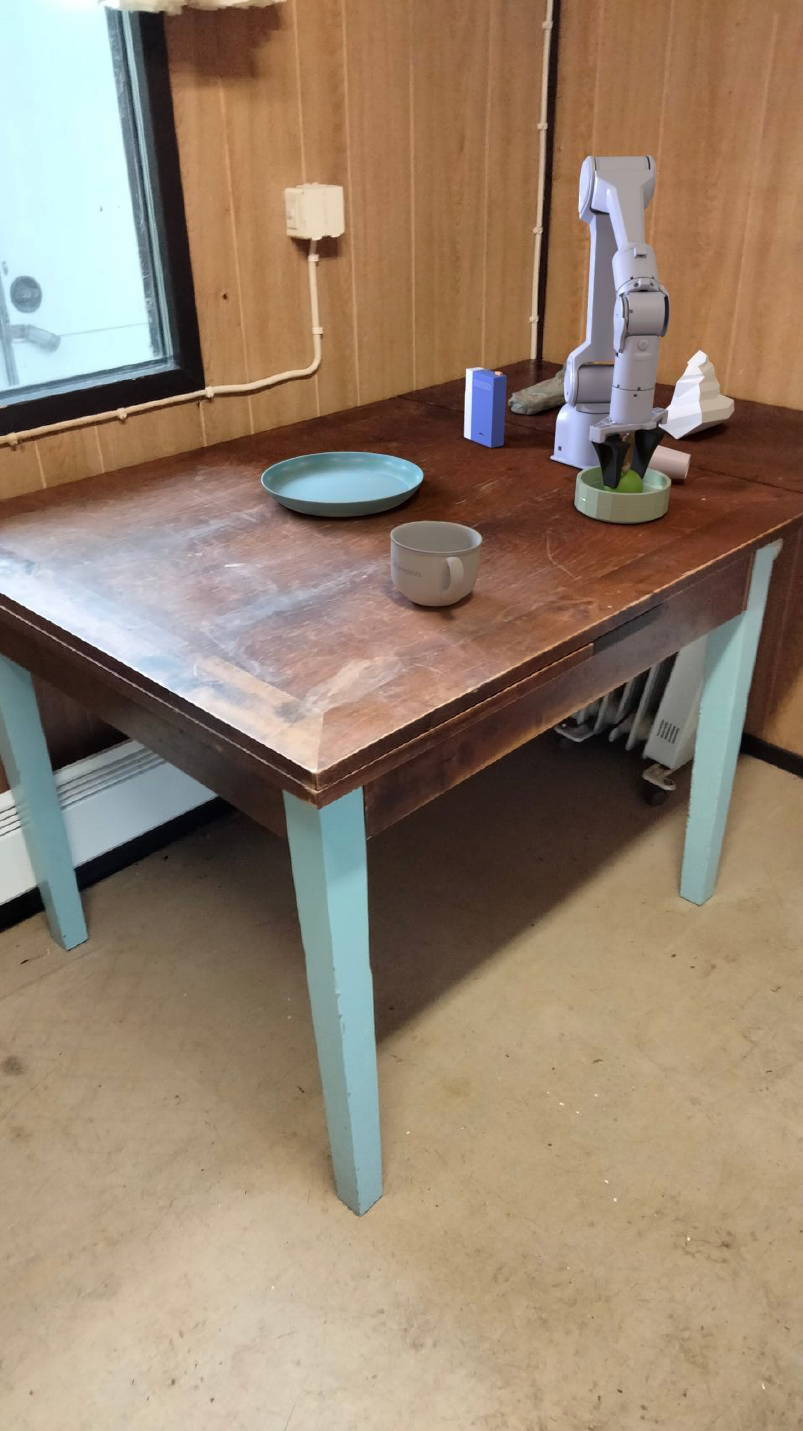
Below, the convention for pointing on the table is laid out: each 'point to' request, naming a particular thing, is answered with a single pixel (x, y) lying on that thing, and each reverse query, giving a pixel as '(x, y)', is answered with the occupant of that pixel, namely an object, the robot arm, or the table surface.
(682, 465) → the smoothie
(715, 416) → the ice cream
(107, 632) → the table surface
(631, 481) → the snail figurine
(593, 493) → the bowl
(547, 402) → the elongated rock
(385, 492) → the teal plate
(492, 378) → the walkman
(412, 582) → the teacup
